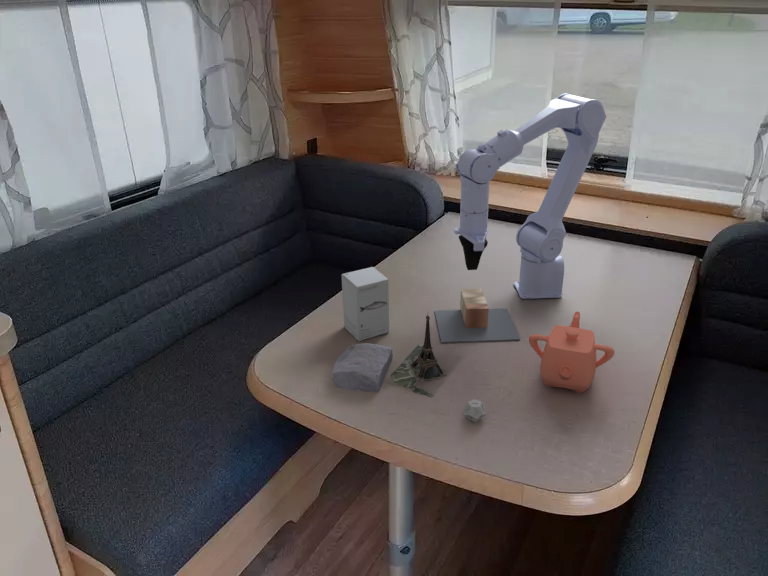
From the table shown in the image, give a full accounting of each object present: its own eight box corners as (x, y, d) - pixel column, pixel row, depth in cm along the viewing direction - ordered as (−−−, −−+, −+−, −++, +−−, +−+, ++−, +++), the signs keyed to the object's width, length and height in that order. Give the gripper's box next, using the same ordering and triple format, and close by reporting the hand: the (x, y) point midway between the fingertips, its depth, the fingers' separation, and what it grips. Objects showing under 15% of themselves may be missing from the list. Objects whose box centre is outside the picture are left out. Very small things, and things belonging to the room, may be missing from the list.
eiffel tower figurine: (417, 346, 126) (417, 287, 120) (464, 358, 122) (467, 297, 116) (383, 385, 115) (381, 322, 109) (434, 400, 110) (435, 335, 104)
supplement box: (358, 342, 127) (355, 287, 122) (343, 326, 133) (340, 272, 127) (390, 333, 130) (389, 278, 125) (374, 318, 136) (372, 265, 130)
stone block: (331, 397, 114) (383, 394, 111) (324, 374, 113) (377, 371, 110) (349, 363, 125) (397, 360, 122) (343, 342, 123) (392, 338, 120)
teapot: (618, 394, 110) (627, 345, 105) (559, 409, 107) (565, 358, 102) (572, 353, 122) (578, 307, 117) (518, 365, 119) (522, 318, 114)
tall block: (481, 288, 137) (488, 308, 129) (480, 306, 139) (487, 327, 131) (460, 289, 137) (466, 309, 129) (460, 307, 139) (466, 328, 131)
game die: (465, 409, 107) (465, 395, 106) (487, 413, 106) (487, 398, 105) (461, 422, 104) (462, 407, 103) (483, 426, 103) (484, 411, 102)
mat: (507, 309, 138) (507, 308, 138) (520, 340, 127) (520, 339, 126) (434, 311, 138) (434, 310, 138) (441, 343, 126) (441, 341, 126)
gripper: (450, 198, 136) (448, 255, 142) (460, 222, 123) (458, 284, 129) (482, 197, 136) (479, 254, 142) (496, 220, 123) (492, 282, 129)
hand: (471, 268), depth 135 cm, fingers closed
